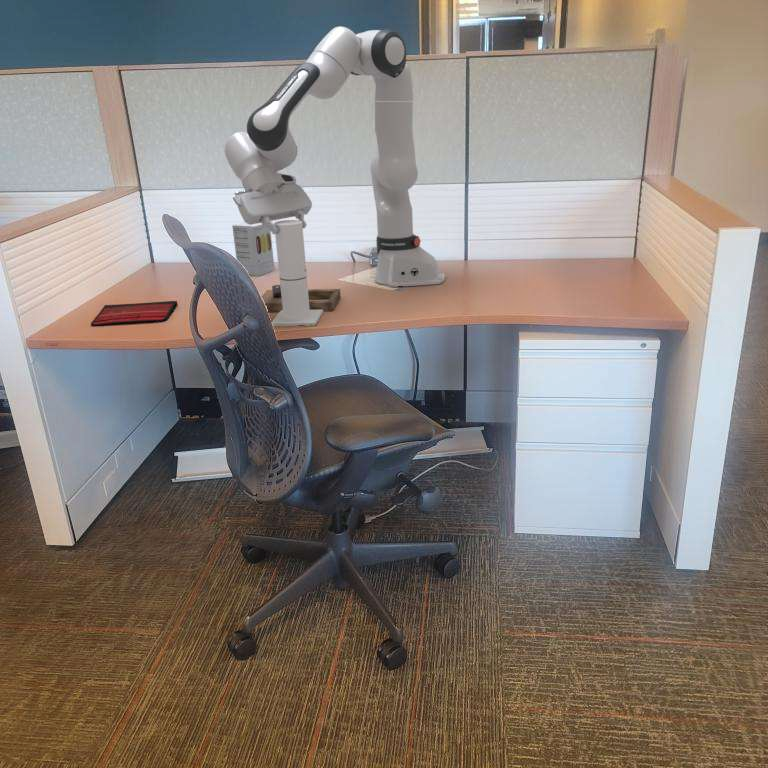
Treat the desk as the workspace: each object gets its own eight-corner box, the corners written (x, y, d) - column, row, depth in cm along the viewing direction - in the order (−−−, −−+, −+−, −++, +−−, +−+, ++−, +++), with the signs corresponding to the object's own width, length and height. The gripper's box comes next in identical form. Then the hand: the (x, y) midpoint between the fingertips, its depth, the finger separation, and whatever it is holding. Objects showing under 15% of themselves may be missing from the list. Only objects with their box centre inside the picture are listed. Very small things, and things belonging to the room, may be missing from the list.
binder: (104, 304, 198) (177, 299, 199) (106, 311, 199) (178, 307, 200) (87, 323, 184) (165, 318, 185) (89, 331, 185) (167, 326, 186)
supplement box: (258, 276, 229) (252, 226, 222) (237, 274, 233) (230, 225, 226) (275, 270, 236) (270, 221, 230) (254, 268, 240) (249, 220, 234)
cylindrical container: (312, 311, 185) (304, 219, 175) (307, 320, 179) (298, 224, 169) (286, 311, 186) (277, 220, 176) (280, 320, 180) (270, 225, 170)
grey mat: (323, 312, 187) (323, 309, 187) (315, 325, 176) (315, 322, 176) (281, 312, 189) (280, 310, 188) (270, 326, 178) (270, 323, 177)
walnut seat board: (340, 297, 201) (339, 278, 199) (333, 311, 188) (331, 291, 186) (268, 298, 203) (266, 280, 201) (256, 312, 190) (253, 293, 188)
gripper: (233, 184, 166) (261, 228, 164) (299, 175, 179) (325, 215, 177) (226, 201, 171) (252, 244, 168) (290, 191, 184) (316, 231, 181)
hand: (290, 229), depth 173 cm, fingers closed on cylindrical container, 7 cm apart
